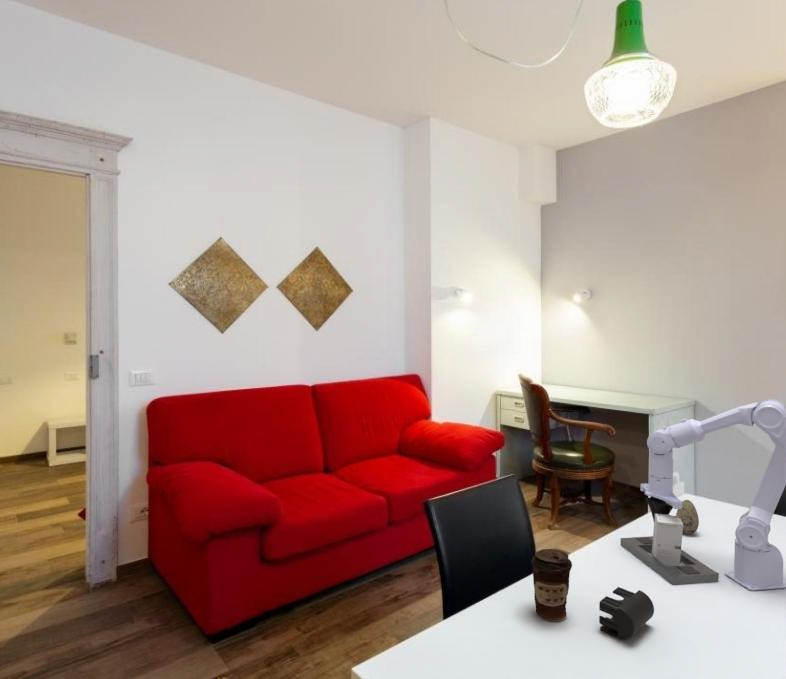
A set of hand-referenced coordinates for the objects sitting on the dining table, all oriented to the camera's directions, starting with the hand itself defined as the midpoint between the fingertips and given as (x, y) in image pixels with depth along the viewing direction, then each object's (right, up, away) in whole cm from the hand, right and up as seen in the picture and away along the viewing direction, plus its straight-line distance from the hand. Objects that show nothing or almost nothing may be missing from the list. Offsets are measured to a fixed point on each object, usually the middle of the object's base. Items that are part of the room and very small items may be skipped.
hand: (659, 526), depth 137 cm
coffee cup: (-37, -10, -26) cm, 46 cm away
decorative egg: (+16, -8, +16) cm, 24 cm away
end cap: (-23, -10, -32) cm, 40 cm away
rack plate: (0, -9, -2) cm, 9 cm away
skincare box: (0, -8, -2) cm, 9 cm away
